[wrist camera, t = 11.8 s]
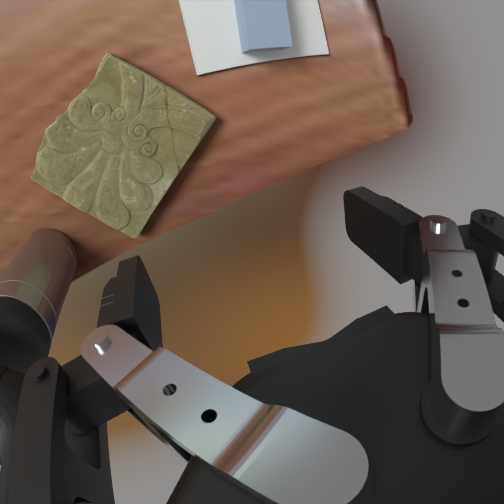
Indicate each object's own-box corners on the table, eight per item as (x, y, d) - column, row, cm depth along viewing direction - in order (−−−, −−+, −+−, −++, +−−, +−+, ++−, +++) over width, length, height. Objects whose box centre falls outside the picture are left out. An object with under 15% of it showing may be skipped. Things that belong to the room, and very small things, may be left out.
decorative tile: (215, 116, 40) (220, 117, 37) (136, 233, 45) (135, 243, 42) (103, 45, 31) (99, 41, 28) (31, 173, 36) (21, 179, 33)
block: (230, -24, 30) (236, -34, 26) (269, -25, 31) (279, -34, 27) (241, 53, 36) (249, 49, 32) (281, 50, 37) (292, 46, 33)
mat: (196, 75, 36) (197, 75, 36) (173, -21, 29) (174, -23, 28) (327, 54, 39) (328, 53, 38) (306, -34, 31) (308, -35, 31)
